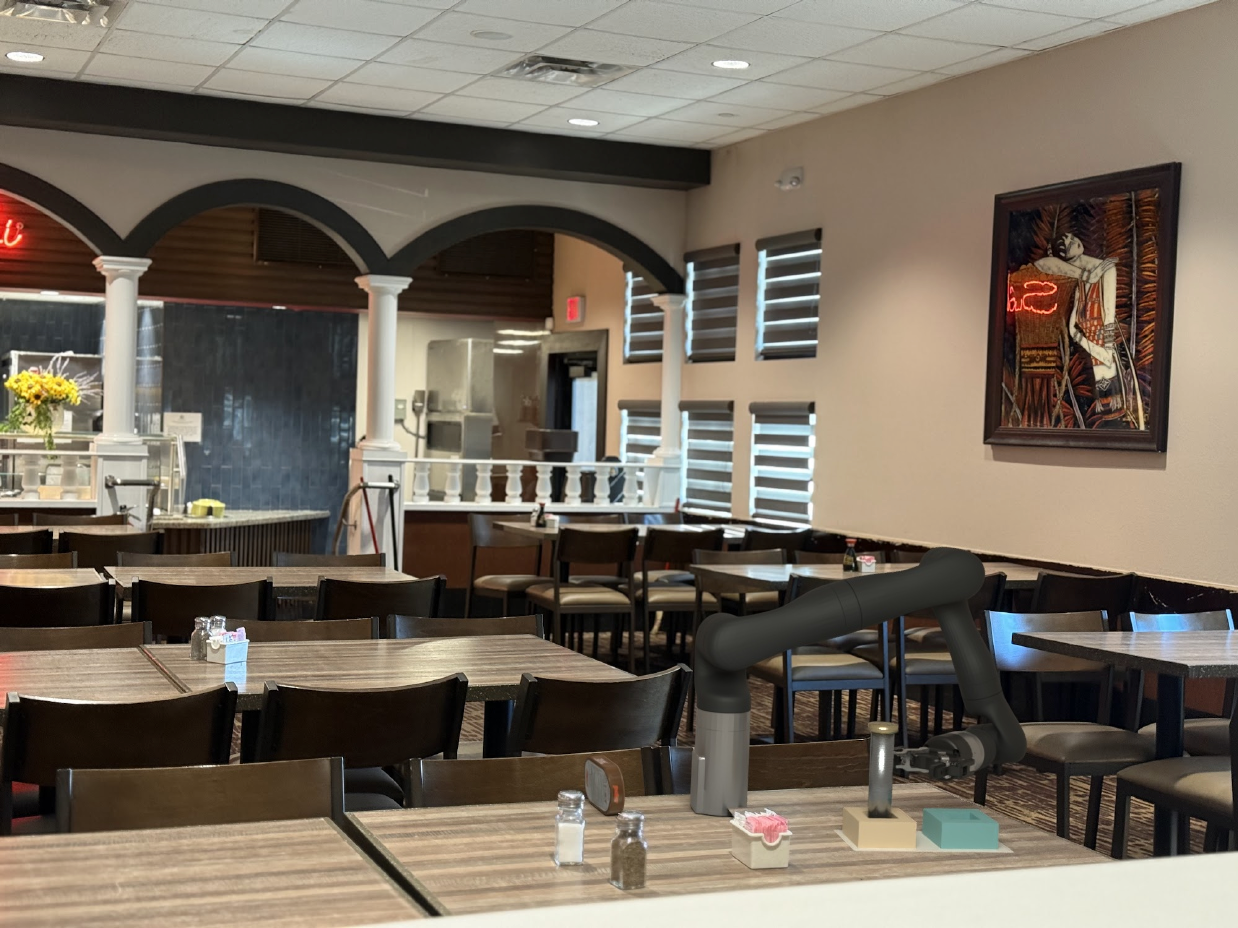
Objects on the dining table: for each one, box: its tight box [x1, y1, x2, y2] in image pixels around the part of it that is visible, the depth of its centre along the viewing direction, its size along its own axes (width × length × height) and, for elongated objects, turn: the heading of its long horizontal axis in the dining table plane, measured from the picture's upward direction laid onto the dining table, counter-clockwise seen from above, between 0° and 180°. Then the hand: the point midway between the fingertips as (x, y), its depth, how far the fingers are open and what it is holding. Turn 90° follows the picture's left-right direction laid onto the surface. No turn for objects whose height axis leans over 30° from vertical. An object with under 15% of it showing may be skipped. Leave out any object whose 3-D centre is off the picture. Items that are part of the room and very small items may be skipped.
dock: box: [833, 806, 1015, 854], centre depth 225 cm, size 25×12×6 cm, turn 96°
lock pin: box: [867, 721, 899, 819], centre depth 224 cm, size 5×5×18 cm
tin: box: [583, 754, 626, 816], centre depth 243 cm, size 15×3×8 cm, turn 19°
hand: (907, 768), depth 231 cm, fingers open, 8 cm apart
